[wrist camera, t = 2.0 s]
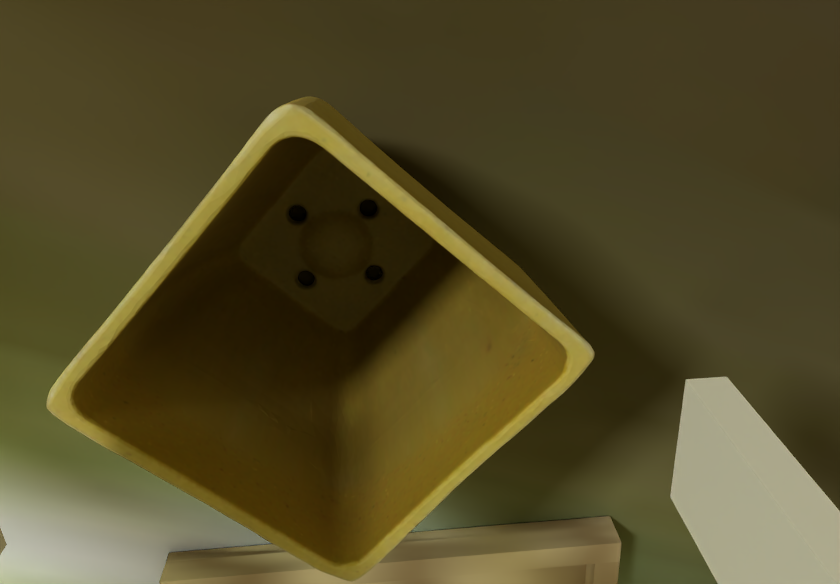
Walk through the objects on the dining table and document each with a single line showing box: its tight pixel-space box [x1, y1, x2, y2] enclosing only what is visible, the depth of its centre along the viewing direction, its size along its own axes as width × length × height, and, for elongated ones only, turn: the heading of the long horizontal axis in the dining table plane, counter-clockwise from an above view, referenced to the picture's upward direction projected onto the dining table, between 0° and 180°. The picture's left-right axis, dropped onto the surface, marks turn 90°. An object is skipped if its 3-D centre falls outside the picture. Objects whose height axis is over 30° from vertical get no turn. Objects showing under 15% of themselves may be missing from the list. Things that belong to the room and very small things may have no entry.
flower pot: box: [47, 97, 595, 582], centre depth 20 cm, size 9×9×9 cm
